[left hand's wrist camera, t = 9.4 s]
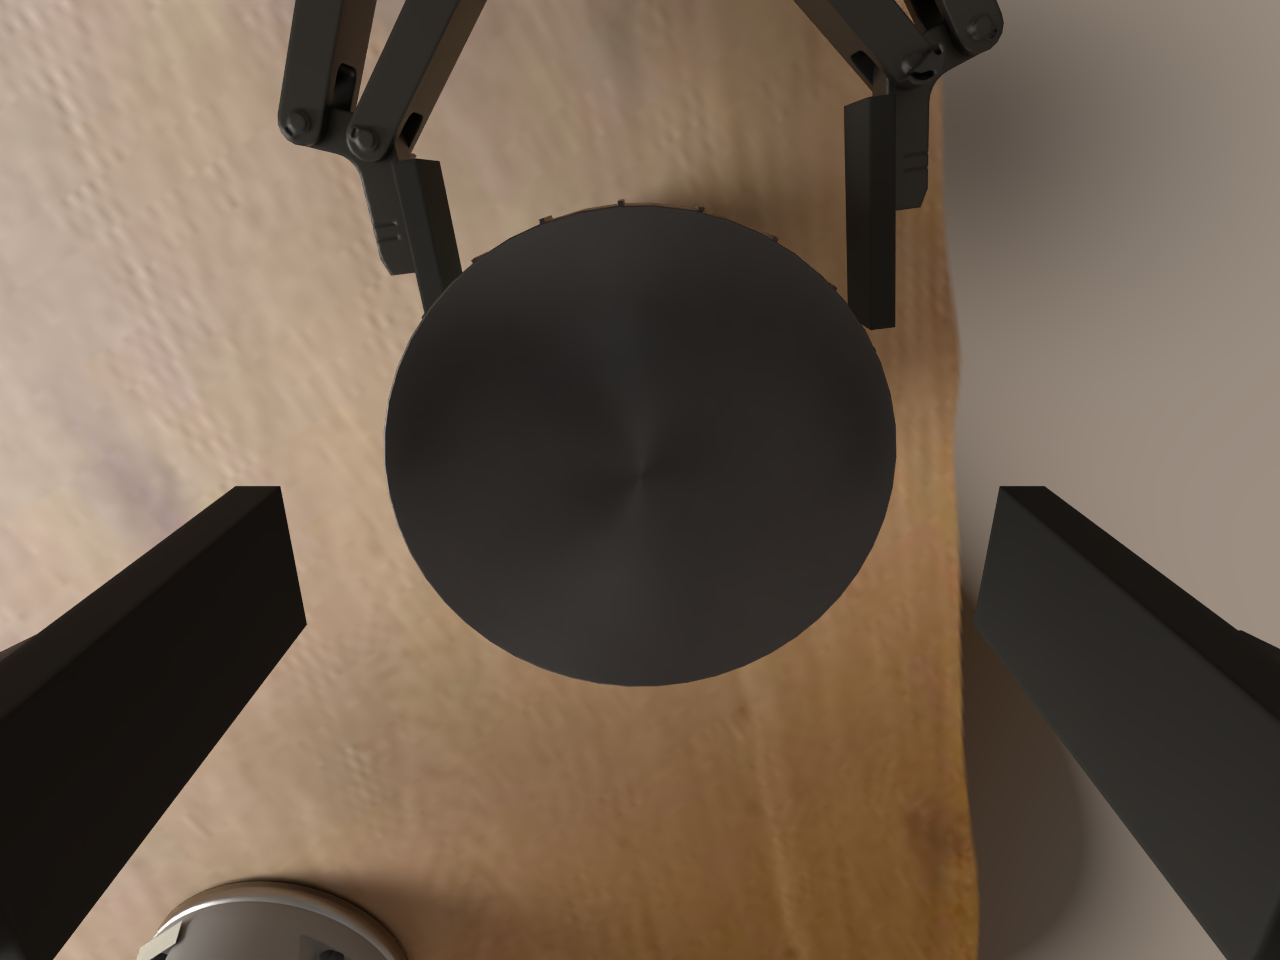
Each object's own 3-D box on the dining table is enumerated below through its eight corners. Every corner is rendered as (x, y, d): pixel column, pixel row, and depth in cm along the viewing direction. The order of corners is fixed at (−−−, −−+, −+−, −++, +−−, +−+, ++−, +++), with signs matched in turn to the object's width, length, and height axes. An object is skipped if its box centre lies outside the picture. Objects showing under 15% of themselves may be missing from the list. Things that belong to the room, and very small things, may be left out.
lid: (892, 599, 20) (919, 643, 18) (482, 674, 21) (466, 722, 19) (846, 147, 16) (874, 142, 14) (338, 263, 17) (300, 274, 15)
